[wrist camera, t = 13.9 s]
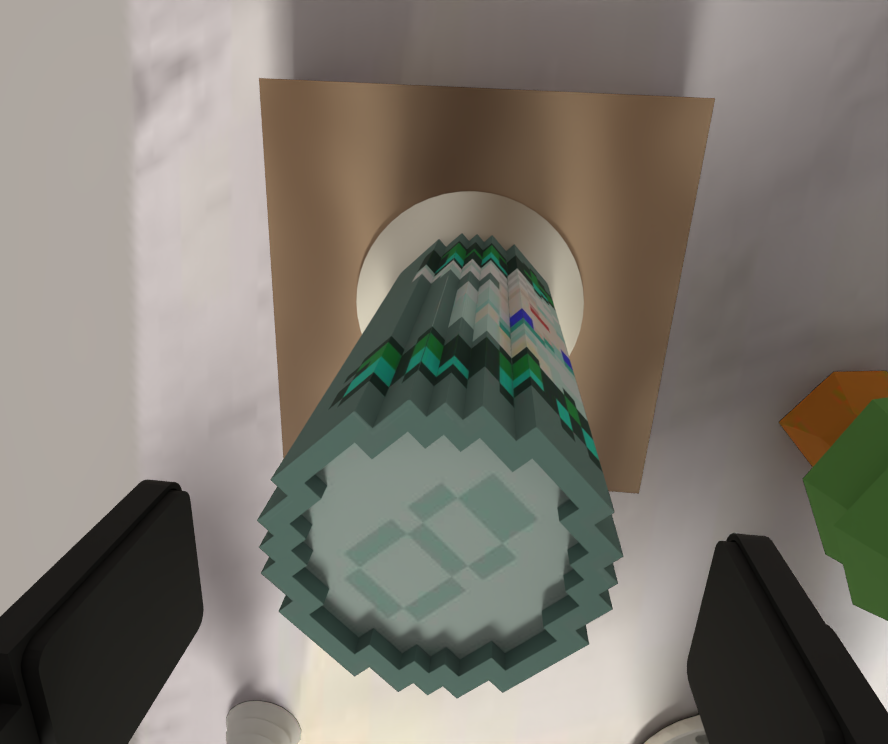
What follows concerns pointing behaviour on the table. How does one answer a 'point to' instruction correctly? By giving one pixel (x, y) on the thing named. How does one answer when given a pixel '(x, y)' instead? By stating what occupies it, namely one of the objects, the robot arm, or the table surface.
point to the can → (448, 486)
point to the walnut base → (484, 224)
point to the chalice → (261, 724)
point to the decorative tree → (849, 476)
